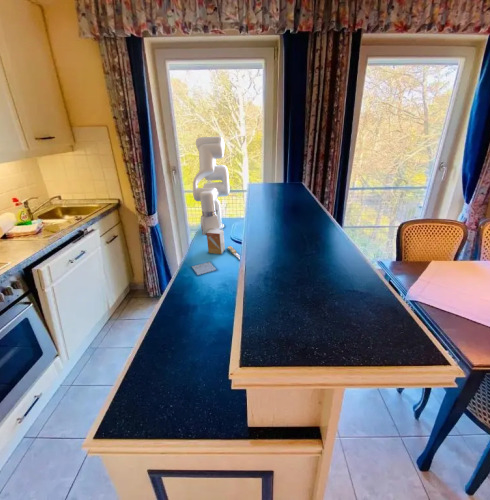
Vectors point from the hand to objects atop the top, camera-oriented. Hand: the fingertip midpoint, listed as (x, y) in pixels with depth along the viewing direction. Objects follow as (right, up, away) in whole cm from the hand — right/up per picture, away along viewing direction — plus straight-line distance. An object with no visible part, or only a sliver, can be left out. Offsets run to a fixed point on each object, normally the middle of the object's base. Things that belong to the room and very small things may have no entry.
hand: (212, 242), depth 167 cm
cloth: (-1, -14, -21) cm, 26 cm away
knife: (+14, -7, -7) cm, 17 cm away
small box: (+3, -6, -3) cm, 8 cm away
